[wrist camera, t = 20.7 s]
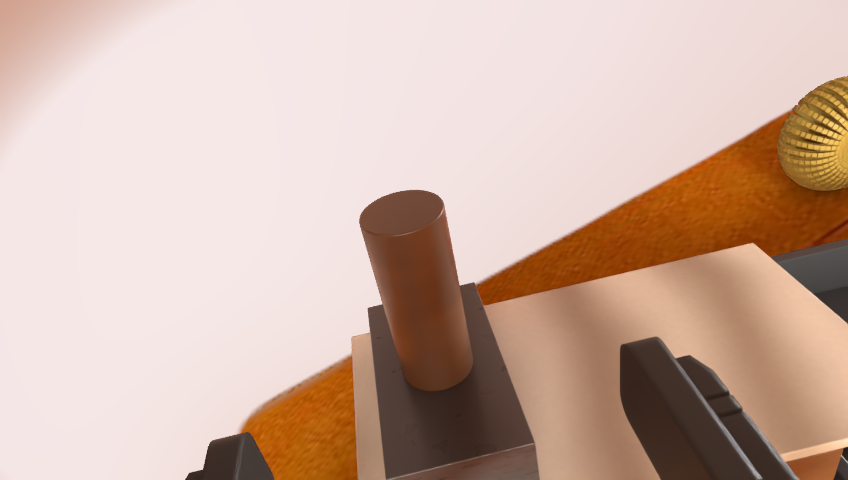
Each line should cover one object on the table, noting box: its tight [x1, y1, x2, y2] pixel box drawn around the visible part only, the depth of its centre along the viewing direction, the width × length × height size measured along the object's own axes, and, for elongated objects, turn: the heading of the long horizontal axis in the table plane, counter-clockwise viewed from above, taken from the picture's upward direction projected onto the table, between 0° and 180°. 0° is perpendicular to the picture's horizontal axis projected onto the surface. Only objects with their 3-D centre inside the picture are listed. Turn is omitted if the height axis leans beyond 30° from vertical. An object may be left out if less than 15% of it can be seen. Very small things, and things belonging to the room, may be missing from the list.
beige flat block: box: [351, 243, 848, 480], centre depth 26 cm, size 20×11×6 cm, turn 98°
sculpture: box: [777, 76, 848, 191], centre depth 40 cm, size 8×4×8 cm, turn 101°
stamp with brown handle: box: [359, 190, 540, 480], centre depth 21 cm, size 5×9×9 cm, turn 9°
